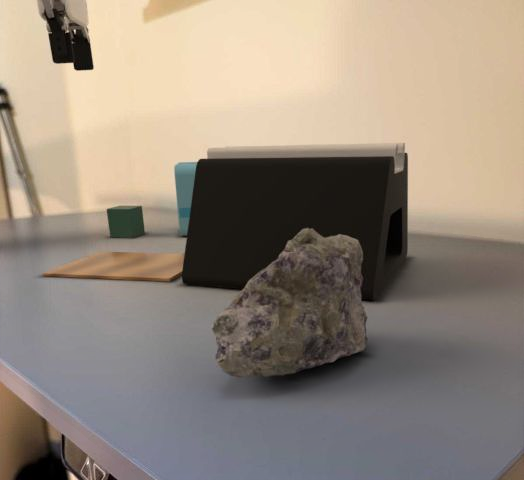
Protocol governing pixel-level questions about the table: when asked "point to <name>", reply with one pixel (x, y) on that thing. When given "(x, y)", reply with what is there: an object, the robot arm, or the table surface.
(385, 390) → the table surface
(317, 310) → the mineral rock
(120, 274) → the wooden board
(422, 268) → the table surface
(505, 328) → the table surface
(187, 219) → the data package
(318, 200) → the device stand
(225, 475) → the table surface
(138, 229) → the dark green block
